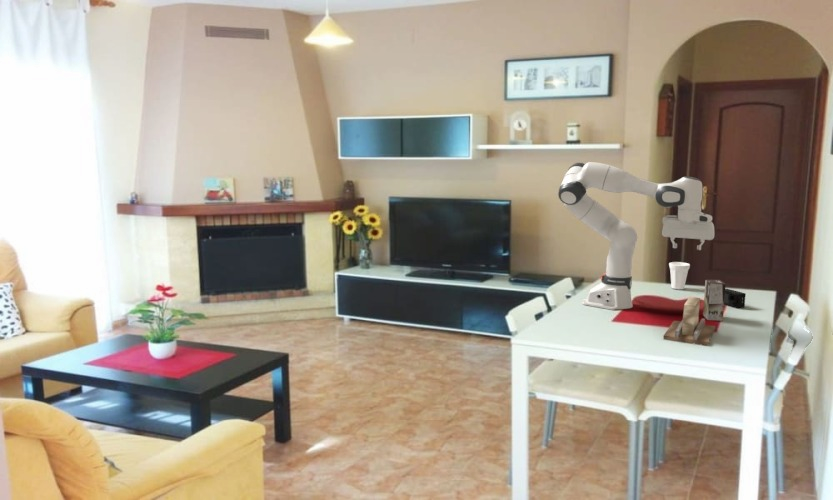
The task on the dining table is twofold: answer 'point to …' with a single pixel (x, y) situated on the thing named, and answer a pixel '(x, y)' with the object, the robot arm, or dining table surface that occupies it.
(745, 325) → the dining table surface
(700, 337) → the track base
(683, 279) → the cup
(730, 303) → the digital camera
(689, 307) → the door panel
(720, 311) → the coffee box
